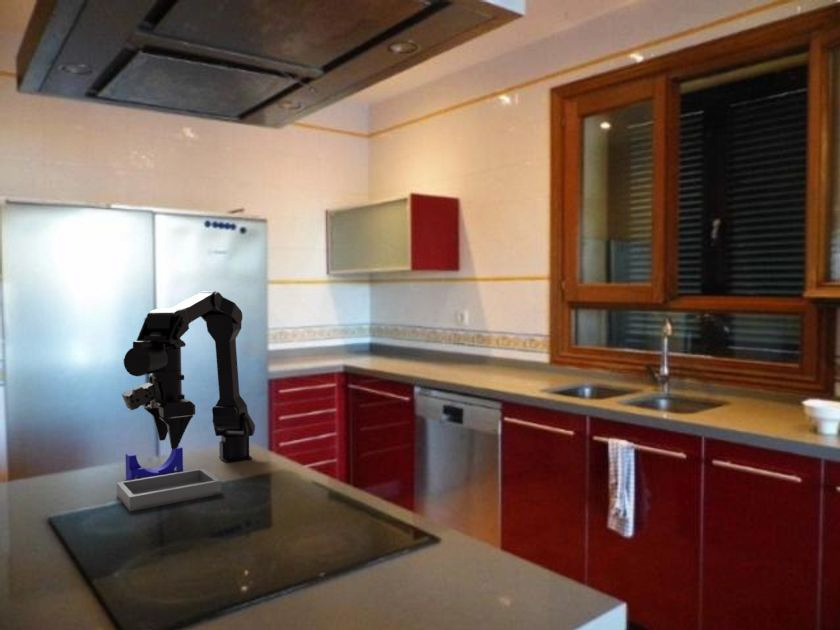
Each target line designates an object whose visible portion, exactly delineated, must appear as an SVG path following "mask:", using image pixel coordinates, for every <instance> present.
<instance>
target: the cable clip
mask: <svg viewBox="0 0 840 630" xmlns="http://www.w3.org/2000/svg"><path fill="white" fill-rule="evenodd" d="M183 450H184V447H182V446H180V445H178V448H176V449H172V448H171V451H170V455H169V457H168V458H167V459H166V461H165V462H163V464H161V465H158V466H156V467H153V468H148V467H147V468H146V467H143V466H141V465H140V463H139V462H138V460H137V454H135V452H127V453H125V478H126V479H127V481H129V480H135V479H141V478H147V477H153V476H159V475H165V474H171V473H177V472H183V471H184V456H183V455H184V453H183V452H184V451H183Z"/></svg>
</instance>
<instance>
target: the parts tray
mask: <svg viewBox="0 0 840 630" xmlns="http://www.w3.org/2000/svg"><path fill="white" fill-rule="evenodd" d="M221 494H222V480H221V479H219V478H217V477H216V476H215V475H213V474H212V473H211V472H209V471H208V470H206V469H205V468H203V467H202V468H197V469H196V468H195V469H189V470H183V472H178V471H176V473H171V474H165V475H159V476H153V477H147V478H141V479H136V478H135V480H125V481H117V482H116V496H117V497H118V499H119V500H120V501H121V503H123V505H124V506H125V507H126V509H127V510H128V511H129V512H133V511H137V510H143V509H148V508H149V509H150V508H154V507H159V506H164V505H169V504H175V503H180V502H184V501H190V500H196V499H201V498H202V499H203V498H207V497H212V496H217V495H221Z"/></svg>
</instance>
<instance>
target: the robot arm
mask: <svg viewBox="0 0 840 630" xmlns="http://www.w3.org/2000/svg"><path fill="white" fill-rule="evenodd" d="M199 318H201V319H202V320H203V321H204V322H205V325H206V330H207V333H208V334H209V335H210V336H211V338H212V339H213V341H214V343H215V356H216V369H217V371H216V372H217V383H218V396H219V399H218V400H217V402H216V404H215V405H214V406H212V409H211V413H212V425H213V428H214V434H215V437H218V436H219V437H220V438H221V440H220V441H219V443H218V444H219V445H218V446H219V448H218V449H219V456H218V458H219V459H220V460H222V461H224V462H226V463H227V464H229V463H235V462H241V461H247V460H252V459H253V456H251V455H250V437H252V436H254V434H255V430H256V424H255V422H254V421H253V419H252V417H251V416H250V414H249V410H248V405H247V403H246V402H245V400H244V399H243V397H242V396H241V395H240V384H239V383H240V382H239V371H238V369H239V368H238V356H237V354H238V353H237V344H236V343H237V341H236V340H237V337H238V335H239V333H240V332H241V330H242V322H243V311H242V310H241V308H240V307H239V306H238V305H237V304H236V303H235V302H234V301H232V300H230V299H228V298H226V297H225V296H223V295H222V294H221V293H220V292H218V291H216V290H215V291H214V290H213V291H212V290H211V291H208V290H207V291H206V290H205V291H203V290H202V291H199V292H197V293H196V294H195V295H193V296H192V297H190V298H187V299H185V300H184V301H182V302H180V303H179V304H176V305H175V306H172V307H168V308H167V307H165V308H158V309H153V310H152V309H151V310H150V311H149V312H148V313H147V314H146V317H145V319H144V322H143V324H142V326H141V329H140V330H139V333H138V336H137V337H136V340H134V341H133V342H132V347H131V348H129V349H128V351H127V352H126V353H125V355H124V358H123V366H124V369H125V371H126V372H127V373H128V374H129V375H131V376H134V377H141V376H142V377H143V376H146V375H149V376H147V382H146V383H143V384H141V385H137V386H136V387H133V388H131V389H129V390H126V391H124V392H123V393H121V396H122V398H123V400H124V403H125V406H126V407H127V409H129V410H130V411H134V410H137V409H139V408H140V407H141V406H142V407H143V410H144V411H146V412H147V413H148V414H150V415H151V416H152V419H153V423H154V425H155V428H156V434H157V437H158V439H159V441H165V440H166V438H167V435H168V439H169V443H170V449H171V450H172V449H176V448H178V446H180V443H181V440H183V436H184V434H185V433H186V430H187V429H188V428H187V427H188V425H189V423H190V422H191V420H192V419H193V417H194V415H196V404H194V402H192V401H191V400H189V399H187V398H186V397H185V394H184V393H183V392H182V391H183V390H182V381H185V375H184V374H182V348H183V347H186V345H187V344H186V343H185V341H183V339H181V338H182V337H183V336H184V335H185V333H187V332H188V331H189V329H190V324H191V323H192V322H194V321H195V320H197V319H199Z"/></svg>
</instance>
